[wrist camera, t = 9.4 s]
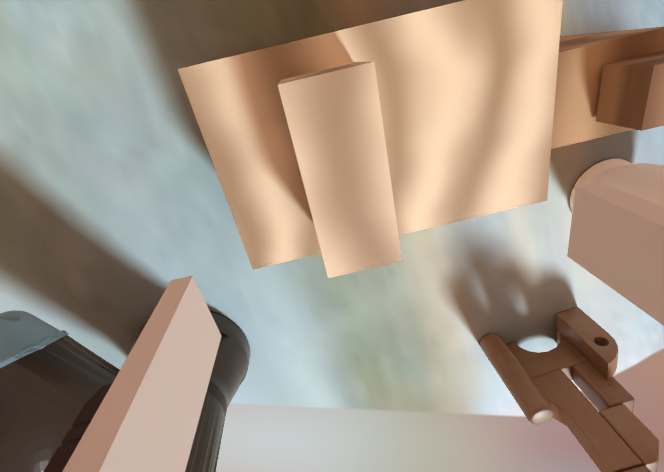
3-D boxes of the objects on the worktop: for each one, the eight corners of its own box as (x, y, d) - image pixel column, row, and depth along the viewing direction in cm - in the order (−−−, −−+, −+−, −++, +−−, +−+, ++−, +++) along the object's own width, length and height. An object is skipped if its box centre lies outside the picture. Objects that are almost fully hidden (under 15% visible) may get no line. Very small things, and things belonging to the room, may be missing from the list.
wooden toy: (579, 304, 51) (796, 489, 29) (579, 336, 54) (775, 526, 32) (477, 336, 52) (613, 539, 30) (482, 366, 55) (609, 570, 33)
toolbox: (263, 216, 40) (252, 269, 30) (213, 66, 33) (177, 69, 23) (550, 149, 40) (638, 179, 30) (563, -18, 33) (685, -53, 23)
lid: (254, 260, 32) (242, 323, 24) (183, 68, 24) (133, 71, 17) (536, 194, 31) (613, 236, 24) (549, -20, 24) (666, -57, 17)
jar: (659, 178, 43) (822, 230, 30) (594, 242, 47) (714, 314, 33) (609, 131, 40) (768, 166, 27) (542, 204, 43) (653, 267, 30)
